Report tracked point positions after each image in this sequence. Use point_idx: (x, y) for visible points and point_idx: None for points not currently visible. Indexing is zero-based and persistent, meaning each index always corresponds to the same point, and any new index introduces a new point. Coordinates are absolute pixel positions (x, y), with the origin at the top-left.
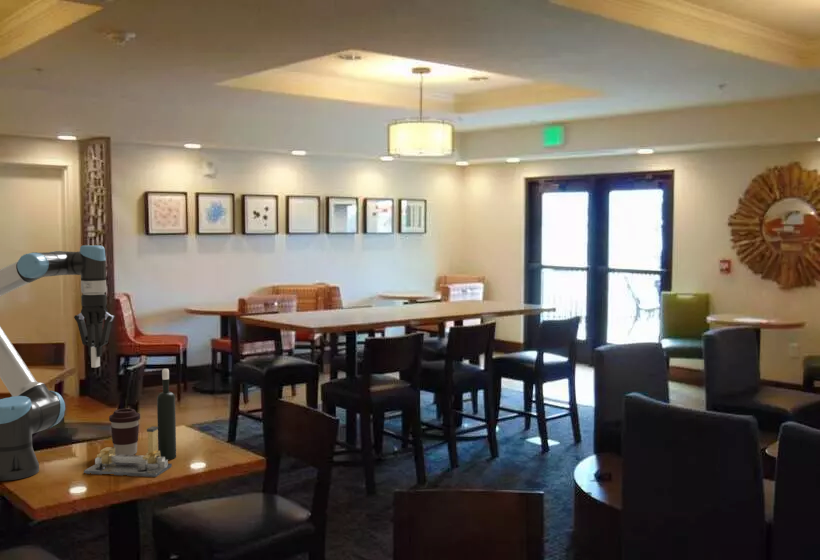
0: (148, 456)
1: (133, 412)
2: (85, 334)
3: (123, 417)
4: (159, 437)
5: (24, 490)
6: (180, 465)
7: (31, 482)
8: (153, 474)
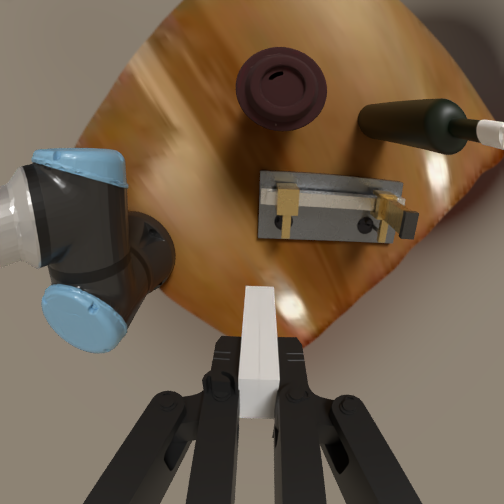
0: (385, 234)
1: (315, 93)
2: (160, 481)
3: (295, 120)
4: (383, 138)
5: (212, 317)
6: (412, 173)
7: (196, 286)
8: (388, 242)
